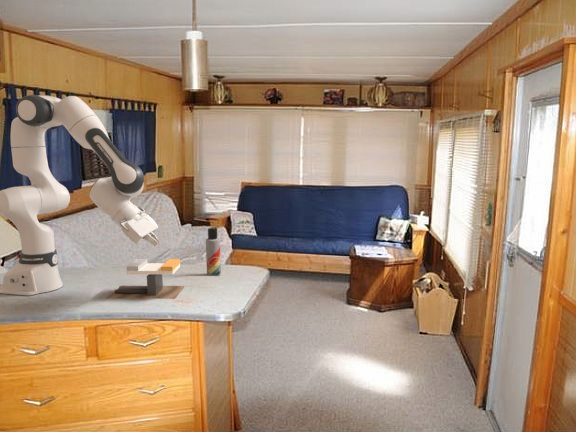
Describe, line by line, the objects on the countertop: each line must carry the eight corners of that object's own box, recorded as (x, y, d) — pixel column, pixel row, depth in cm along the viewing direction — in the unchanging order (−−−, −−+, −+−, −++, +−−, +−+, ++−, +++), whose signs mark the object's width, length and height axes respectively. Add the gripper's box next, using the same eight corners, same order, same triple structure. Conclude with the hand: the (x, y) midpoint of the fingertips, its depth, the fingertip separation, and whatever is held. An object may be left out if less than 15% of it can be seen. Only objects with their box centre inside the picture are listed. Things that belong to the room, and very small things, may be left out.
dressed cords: (114, 293, 173) (114, 290, 173) (120, 289, 178) (120, 285, 178) (148, 294, 173) (148, 290, 172) (153, 289, 178) (153, 285, 178)
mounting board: (106, 302, 169) (106, 298, 169) (121, 289, 183) (121, 285, 183) (175, 302, 168) (175, 298, 168) (185, 289, 182) (185, 285, 182)
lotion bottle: (218, 277, 197) (216, 228, 194) (204, 276, 198) (203, 228, 195) (222, 273, 202) (221, 226, 199) (209, 272, 204) (208, 225, 200)
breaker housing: (147, 295, 171) (146, 276, 170) (154, 288, 179) (153, 269, 178) (156, 295, 171) (155, 276, 170) (162, 288, 179) (162, 269, 178)
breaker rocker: (126, 274, 169) (126, 266, 169) (137, 266, 179) (136, 258, 179) (172, 274, 168) (172, 266, 168) (180, 266, 178) (179, 259, 178)
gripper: (123, 215, 160) (155, 243, 161) (143, 207, 181) (171, 232, 182) (111, 228, 161) (142, 257, 162) (132, 219, 181) (160, 244, 183)
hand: (158, 244), depth 172 cm, fingers closed
